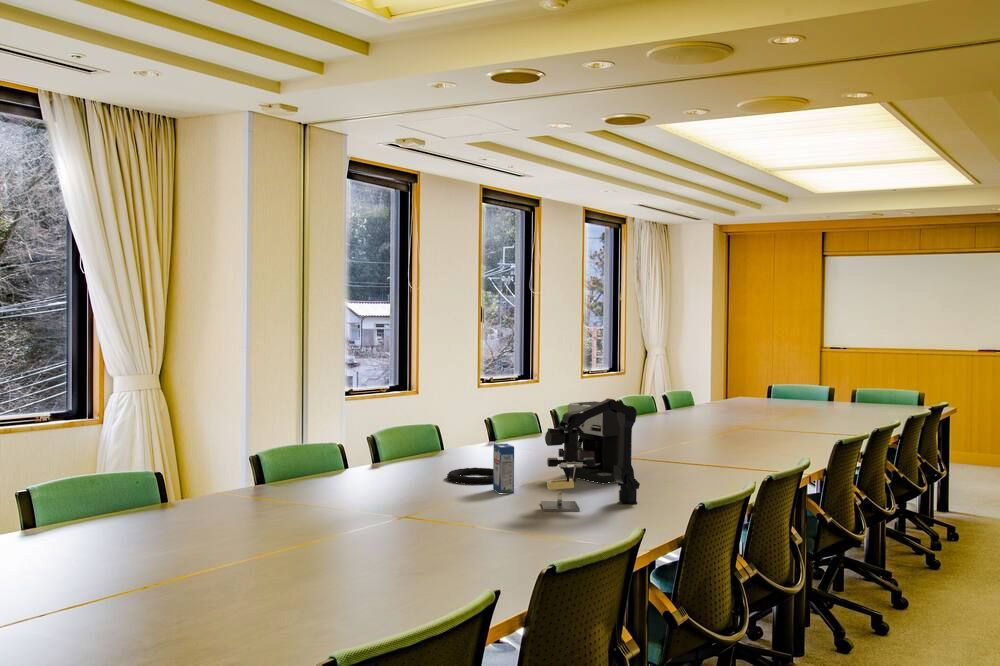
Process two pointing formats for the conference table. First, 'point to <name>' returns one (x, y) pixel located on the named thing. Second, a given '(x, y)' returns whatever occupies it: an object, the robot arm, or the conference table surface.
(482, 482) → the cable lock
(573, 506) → the keeper plate
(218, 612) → the conference table surface
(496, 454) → the milk carton
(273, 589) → the conference table surface
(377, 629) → the conference table surface
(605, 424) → the coffee maker
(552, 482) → the yellow rectangular frame
